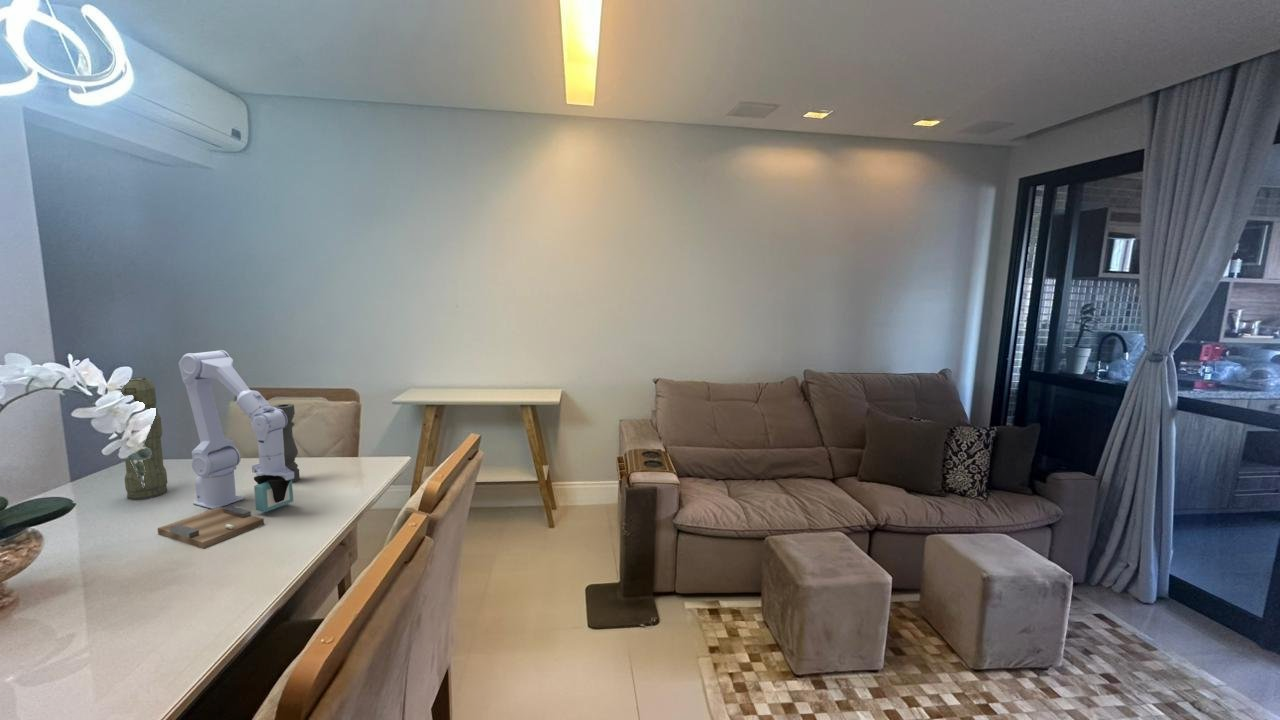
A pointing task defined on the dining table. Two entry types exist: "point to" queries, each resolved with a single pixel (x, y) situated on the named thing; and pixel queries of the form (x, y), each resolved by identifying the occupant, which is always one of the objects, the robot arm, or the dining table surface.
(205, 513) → the wooden board
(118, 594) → the dining table surface
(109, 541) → the dining table surface
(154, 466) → the olive green tall column
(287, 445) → the candle holder
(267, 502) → the teal block
